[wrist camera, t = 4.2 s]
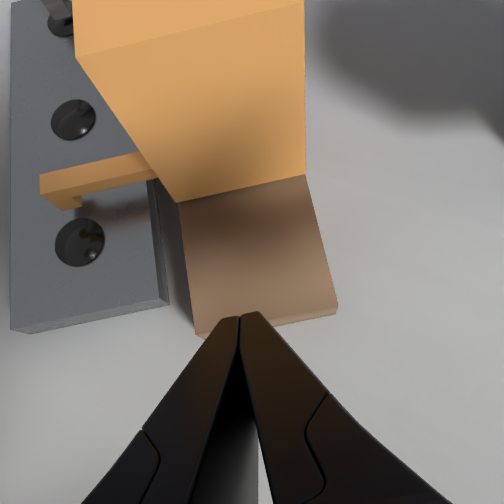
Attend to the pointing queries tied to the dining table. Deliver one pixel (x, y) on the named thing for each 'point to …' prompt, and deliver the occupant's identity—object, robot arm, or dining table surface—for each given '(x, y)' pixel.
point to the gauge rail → (251, 249)
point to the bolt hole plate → (93, 204)
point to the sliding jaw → (192, 94)
